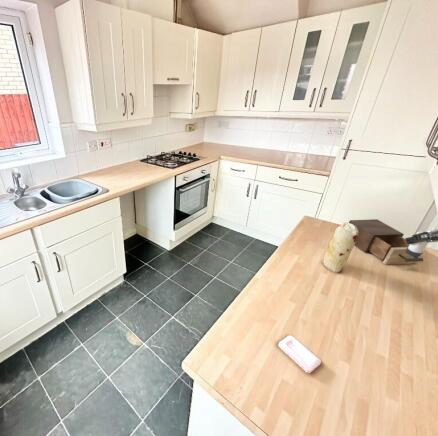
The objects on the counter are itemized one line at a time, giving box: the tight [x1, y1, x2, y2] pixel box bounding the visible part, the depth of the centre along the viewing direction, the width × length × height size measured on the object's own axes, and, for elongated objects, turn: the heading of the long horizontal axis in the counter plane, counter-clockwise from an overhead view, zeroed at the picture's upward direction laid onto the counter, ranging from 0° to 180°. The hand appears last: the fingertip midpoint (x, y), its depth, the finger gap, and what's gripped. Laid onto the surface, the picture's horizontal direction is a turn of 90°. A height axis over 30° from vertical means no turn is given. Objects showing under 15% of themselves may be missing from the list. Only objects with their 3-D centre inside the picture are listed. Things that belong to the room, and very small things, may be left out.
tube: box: [405, 231, 431, 258], centre depth 84 cm, size 4×4×8 cm
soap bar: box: [278, 335, 322, 374], centre depth 67 cm, size 5×9×2 cm, turn 28°
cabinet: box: [348, 218, 405, 254], centre depth 112 cm, size 13×13×9 cm
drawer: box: [368, 236, 424, 265], centre depth 102 cm, size 17×12×8 cm
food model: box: [323, 222, 359, 274], centre depth 96 cm, size 10×7×20 cm
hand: (412, 240), depth 85 cm, fingers closed on tube, 3 cm apart
